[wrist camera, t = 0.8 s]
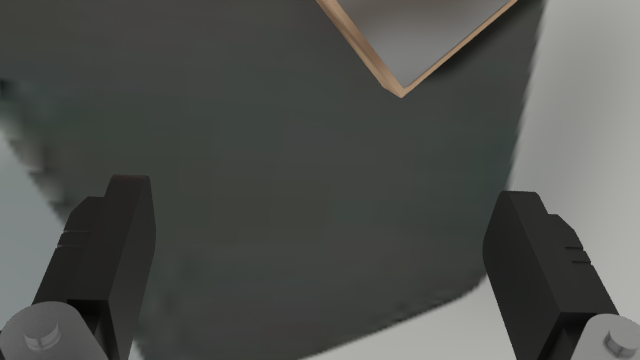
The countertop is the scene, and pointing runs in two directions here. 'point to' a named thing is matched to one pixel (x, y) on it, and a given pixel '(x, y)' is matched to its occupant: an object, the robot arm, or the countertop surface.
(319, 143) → the countertop surface
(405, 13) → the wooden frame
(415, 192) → the countertop surface
